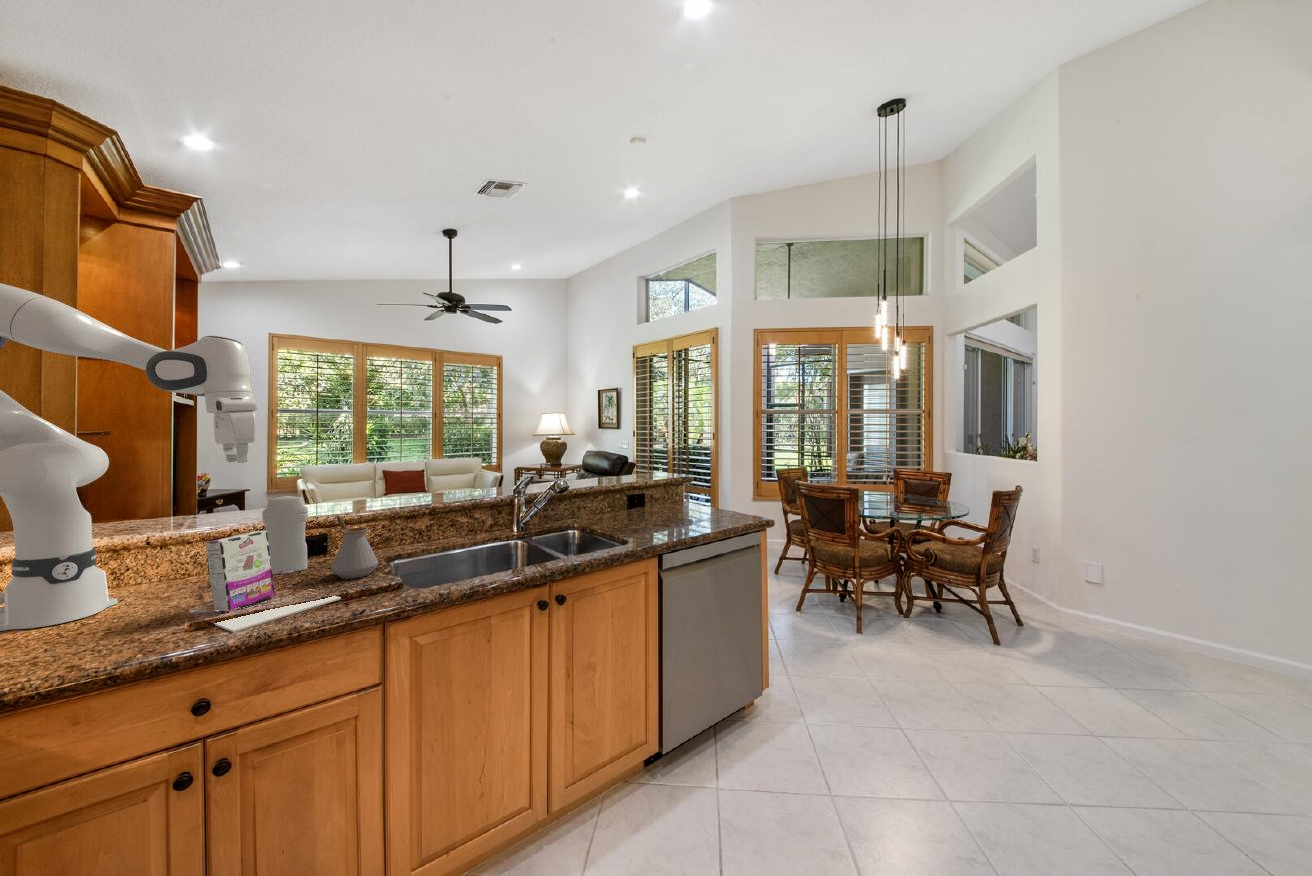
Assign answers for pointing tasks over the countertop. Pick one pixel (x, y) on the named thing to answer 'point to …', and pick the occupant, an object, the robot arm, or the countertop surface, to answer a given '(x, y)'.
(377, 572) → the countertop surface
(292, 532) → the gray flat bottle
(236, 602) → the candy bar box
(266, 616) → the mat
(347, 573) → the coffee pot
